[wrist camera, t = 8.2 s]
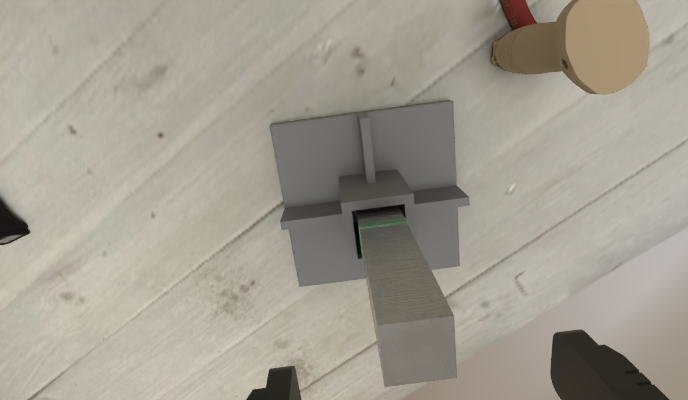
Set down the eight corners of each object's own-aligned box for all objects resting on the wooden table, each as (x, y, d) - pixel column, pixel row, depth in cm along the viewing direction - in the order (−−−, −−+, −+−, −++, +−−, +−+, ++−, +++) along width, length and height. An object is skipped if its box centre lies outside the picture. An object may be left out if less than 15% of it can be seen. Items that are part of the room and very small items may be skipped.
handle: (497, 94, 40) (590, 108, 26) (468, 36, 38) (551, 16, 24) (540, 67, 39) (661, 65, 25) (513, 7, 37) (626, -32, 23)
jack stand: (300, 280, 46) (290, 353, 34) (271, 123, 40) (247, 145, 28) (455, 259, 45) (499, 326, 34) (448, 100, 40) (498, 112, 28)
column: (359, 244, 36) (383, 387, 20) (354, 206, 35) (376, 324, 18) (400, 239, 36) (458, 378, 20) (396, 200, 35) (455, 314, 18)
